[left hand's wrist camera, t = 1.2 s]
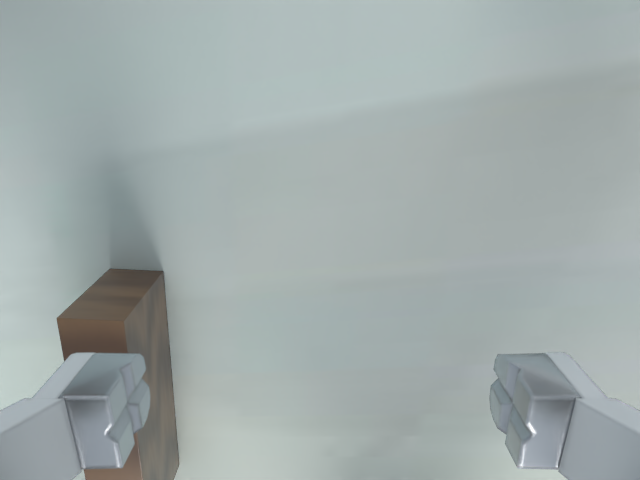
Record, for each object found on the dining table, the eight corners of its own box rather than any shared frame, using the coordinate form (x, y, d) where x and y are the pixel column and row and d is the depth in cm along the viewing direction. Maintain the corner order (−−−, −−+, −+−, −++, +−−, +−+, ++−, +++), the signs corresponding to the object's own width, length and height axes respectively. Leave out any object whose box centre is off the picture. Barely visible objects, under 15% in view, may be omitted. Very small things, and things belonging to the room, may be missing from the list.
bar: (109, 268, 42) (56, 318, 34) (163, 271, 42) (123, 321, 34) (134, 462, 50) (96, 541, 42) (179, 464, 50) (150, 543, 42)
